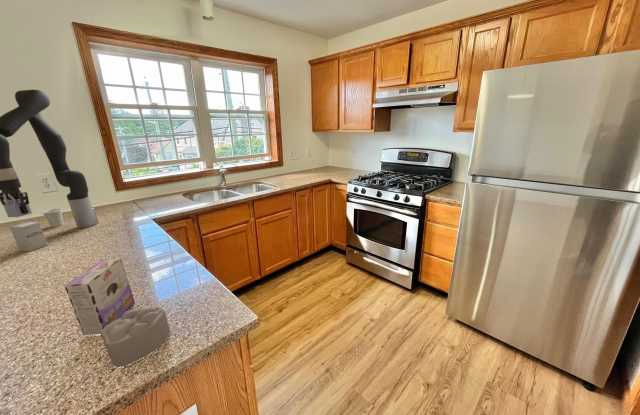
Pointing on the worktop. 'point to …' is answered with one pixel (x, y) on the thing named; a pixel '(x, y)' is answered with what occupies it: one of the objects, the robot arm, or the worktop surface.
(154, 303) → the worktop surface
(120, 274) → the candy box
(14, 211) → the blue block
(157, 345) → the grey lumpy block
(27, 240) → the supplement box
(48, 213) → the dixie cup
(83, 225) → the robot arm
